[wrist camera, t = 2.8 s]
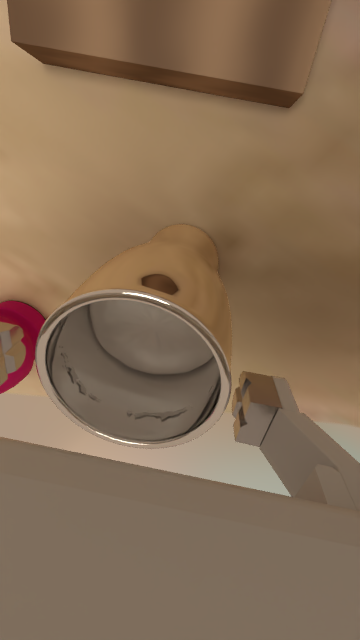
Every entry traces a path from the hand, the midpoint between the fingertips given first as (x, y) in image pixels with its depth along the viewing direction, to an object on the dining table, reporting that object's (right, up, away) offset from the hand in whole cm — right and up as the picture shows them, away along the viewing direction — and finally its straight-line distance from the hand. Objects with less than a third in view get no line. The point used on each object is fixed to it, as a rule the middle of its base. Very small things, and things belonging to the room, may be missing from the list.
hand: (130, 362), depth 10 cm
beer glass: (+2, +6, +12) cm, 14 cm away
